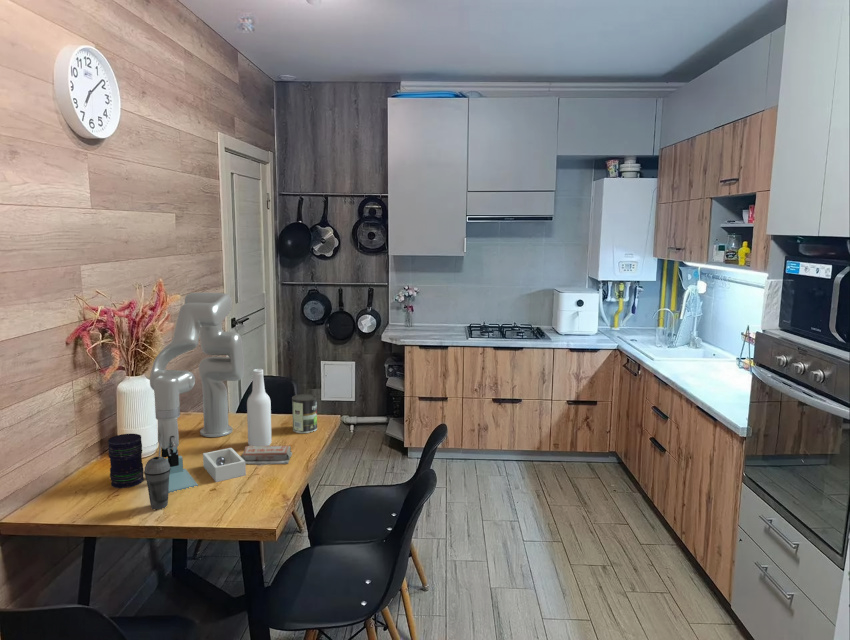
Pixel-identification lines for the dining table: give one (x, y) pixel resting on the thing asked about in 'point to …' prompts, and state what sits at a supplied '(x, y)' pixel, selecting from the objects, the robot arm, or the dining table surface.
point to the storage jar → (126, 460)
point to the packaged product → (266, 454)
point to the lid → (180, 477)
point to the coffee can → (304, 413)
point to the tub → (231, 467)
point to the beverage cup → (158, 481)
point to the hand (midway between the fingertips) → (170, 461)
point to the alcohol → (259, 412)
